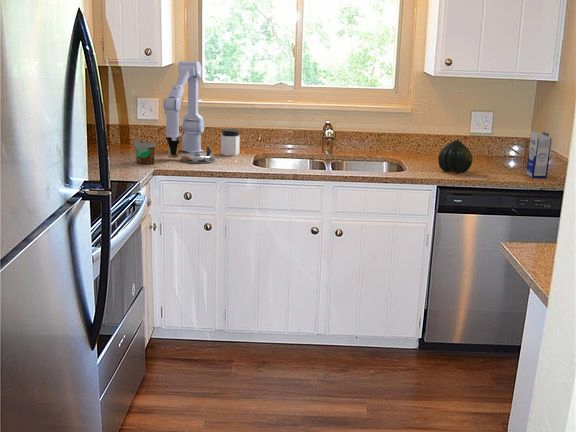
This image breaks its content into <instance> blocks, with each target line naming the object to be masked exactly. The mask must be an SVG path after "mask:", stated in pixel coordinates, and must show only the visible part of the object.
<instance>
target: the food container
mask: <svg viewBox="0 0 576 432" xmlns="http://www.w3.org/2000/svg"><path fill="white" fill-rule="evenodd" d="M133 146H134V150H135V157H136V159H135V160H136V164H137V165H143V166H144V165H145V166H147V165H148V166H151V165H152V166H153V165H155V154H156V153H155V151H156V150H155V149H156V146H157V145H156V142H148V141H141V139H140V138H139V139H135V140H134V141H133Z"/></svg>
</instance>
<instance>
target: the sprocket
mask: <svg viewBox="0 0 576 432" xmlns="http://www.w3.org/2000/svg"><path fill="white" fill-rule="evenodd" d="M181 159H183V160H184V161H193V162H198V161H205V162H207V161H210V160H214V159H215V160H216V158H215V155H213V153H212V147H211V146H206V153H205V152H195V153H190V152H186V154H183V153H182V154H180V160H181Z"/></svg>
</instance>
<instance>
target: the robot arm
mask: <svg viewBox="0 0 576 432" xmlns="http://www.w3.org/2000/svg"><path fill="white" fill-rule="evenodd" d="M177 71H178V77H177V79H176V82H175V84H174V85H172V86H171V90H170V92H169V94H168V96H167V97H166V98H164V99H163V110H164V115H165V128H166V130H165V131H166V133H165V136H166V137H165V139H166V141H167V145H168V146H170V152H171V155H176V152H177V147H178V148H179V143H180V142H181V140H182V148H181V151H184V152H186V153H198V152H201V153H205V150H203V149H202V148H201V147H202V140H201V139H202V138H201V135H202V134H203V133H204V131H205V122H204V121H205V120H204V117H203V116H202V115H201V114H199V80H201V79H202V64H201V63H200V61H186V60H185V61H183V60H180V61H179V62H178V64H177ZM186 83H187V114H186V115H184V116H183V118H182V124H181V128H182V131H183V132H184V133H183V135H182V133H180V126H179V125H180V123H179V122H180V121H179V120H180V115H179V113H180V112H179V111H180V110H181V106H182V97H184V96H183V95H184V93H185V88H184V87H185V85H186ZM181 136H182V139H181V140H180V139H179V137H181Z"/></svg>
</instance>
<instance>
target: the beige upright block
mask: <svg viewBox="0 0 576 432" xmlns="http://www.w3.org/2000/svg"><path fill="white" fill-rule="evenodd" d="M167 157H168V158H172V159H174V158H179V146H178V147H177V152H176V155H171V152H170V146H169V145H168V146H167Z"/></svg>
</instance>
